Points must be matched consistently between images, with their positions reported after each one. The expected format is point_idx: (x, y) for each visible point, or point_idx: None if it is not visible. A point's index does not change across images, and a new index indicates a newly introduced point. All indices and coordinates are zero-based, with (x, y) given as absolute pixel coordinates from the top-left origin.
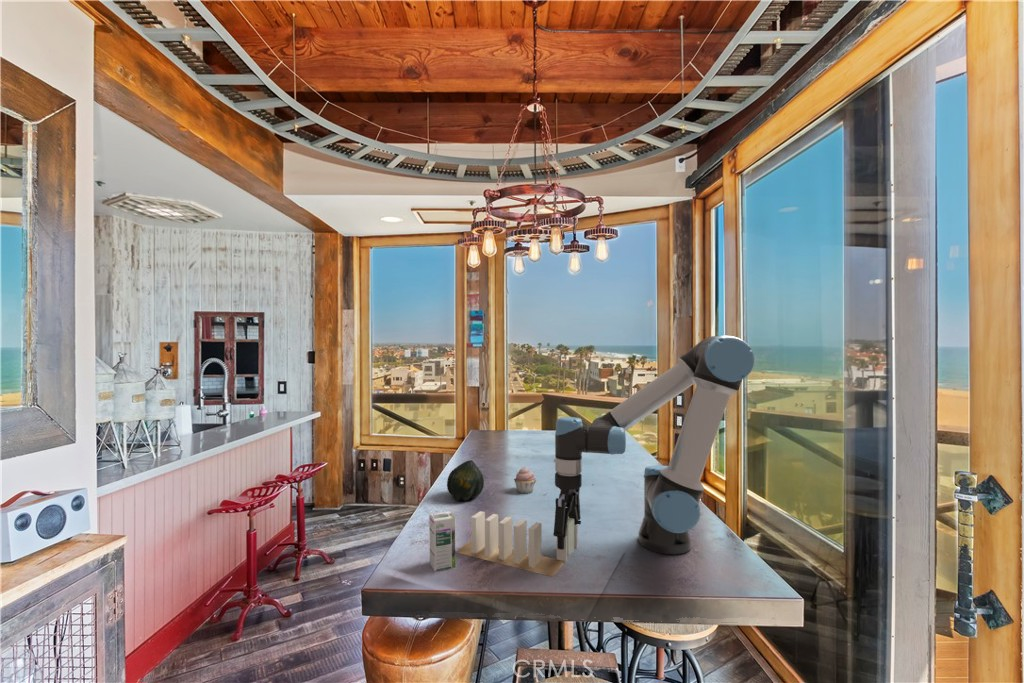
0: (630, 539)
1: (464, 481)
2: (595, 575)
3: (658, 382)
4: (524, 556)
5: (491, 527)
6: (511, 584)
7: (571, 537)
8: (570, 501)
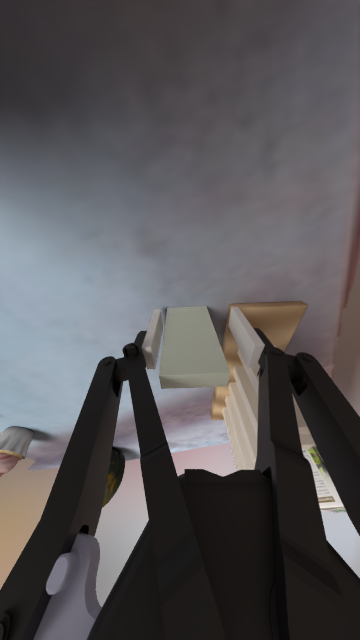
0: None
1: (109, 485)
2: (257, 219)
3: None
4: (244, 368)
5: None
6: (313, 349)
7: (189, 334)
8: (328, 573)
